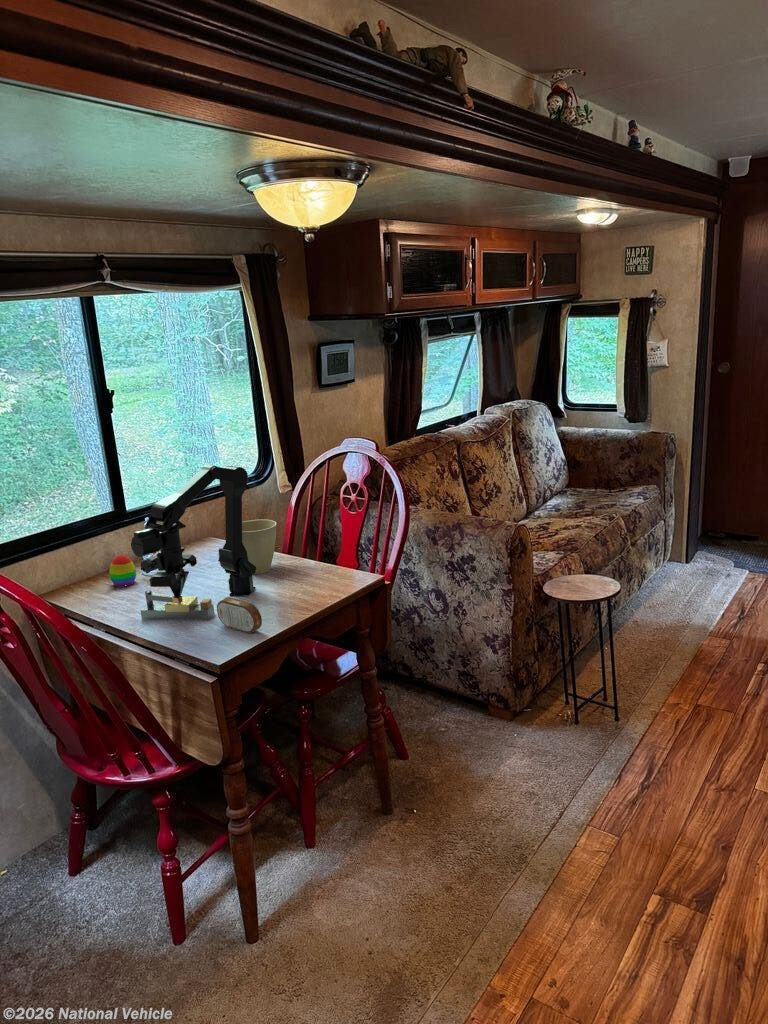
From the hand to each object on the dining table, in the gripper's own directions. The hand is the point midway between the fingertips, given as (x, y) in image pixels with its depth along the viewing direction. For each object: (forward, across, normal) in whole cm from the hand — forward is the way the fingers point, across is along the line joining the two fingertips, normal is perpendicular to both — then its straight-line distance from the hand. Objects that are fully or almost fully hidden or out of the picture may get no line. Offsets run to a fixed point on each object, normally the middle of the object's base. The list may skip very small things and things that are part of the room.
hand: (177, 598), depth 200 cm
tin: (+6, +7, +20) cm, 22 cm away
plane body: (+6, 0, -1) cm, 6 cm away
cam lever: (+3, +1, -4) cm, 5 cm away
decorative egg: (+7, -27, -31) cm, 42 cm away
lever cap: (+3, 0, +1) cm, 3 cm away
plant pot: (+7, -40, +11) cm, 42 cm away
